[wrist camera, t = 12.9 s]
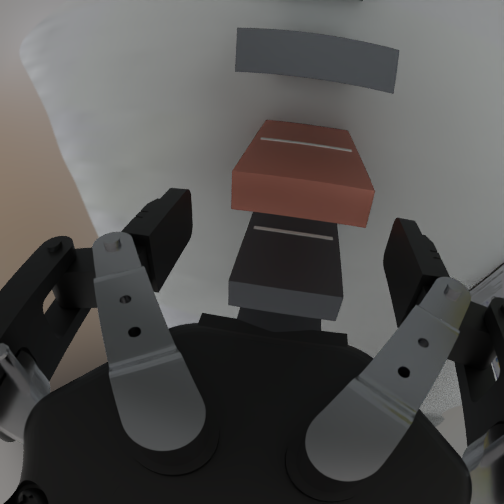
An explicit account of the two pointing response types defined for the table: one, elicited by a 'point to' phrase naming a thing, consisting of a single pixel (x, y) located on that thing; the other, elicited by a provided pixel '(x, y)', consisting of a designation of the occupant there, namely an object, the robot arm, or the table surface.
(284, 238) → the black domino
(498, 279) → the ink cartridge box
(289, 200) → the red domino
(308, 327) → the black domino
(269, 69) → the black domino
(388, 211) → the table surface
